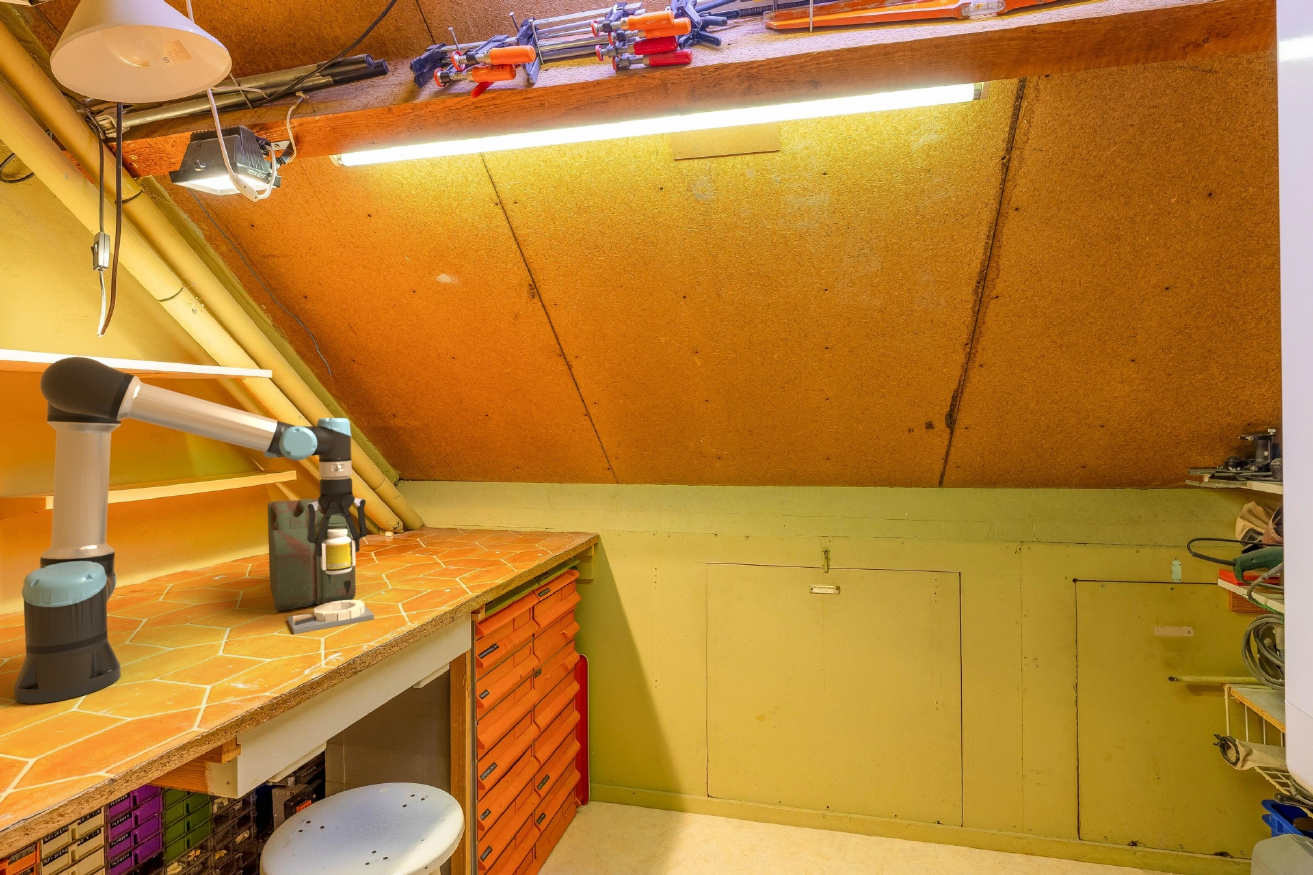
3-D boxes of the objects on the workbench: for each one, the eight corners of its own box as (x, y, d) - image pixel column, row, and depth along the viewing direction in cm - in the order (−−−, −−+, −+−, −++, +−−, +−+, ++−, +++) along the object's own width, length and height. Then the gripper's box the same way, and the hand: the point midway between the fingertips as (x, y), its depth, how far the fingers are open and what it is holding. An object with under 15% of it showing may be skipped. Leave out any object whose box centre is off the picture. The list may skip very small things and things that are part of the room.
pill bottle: (355, 571, 163) (354, 529, 162) (330, 576, 158) (329, 532, 158) (346, 567, 167) (345, 526, 166) (321, 572, 162) (320, 529, 162)
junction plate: (294, 634, 151) (293, 620, 151) (287, 621, 161) (287, 609, 161) (374, 619, 162) (373, 606, 162) (363, 608, 172) (363, 596, 172)
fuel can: (276, 615, 166) (273, 513, 165) (269, 586, 195) (267, 499, 194) (356, 603, 177) (353, 507, 176) (338, 577, 206) (336, 494, 205)
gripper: (295, 481, 153) (298, 575, 154) (379, 476, 164) (381, 563, 165) (291, 479, 159) (294, 569, 160) (372, 474, 170) (374, 558, 171)
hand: (338, 566), depth 162 cm, fingers closed on pill bottle, 6 cm apart
